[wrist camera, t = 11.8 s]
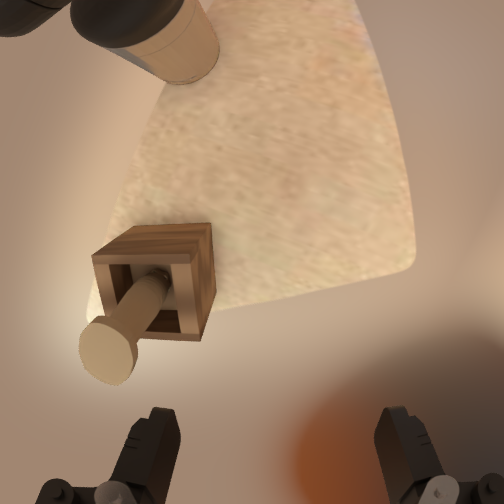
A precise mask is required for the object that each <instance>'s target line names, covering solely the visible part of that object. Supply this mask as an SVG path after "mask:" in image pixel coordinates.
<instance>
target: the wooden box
mask: <svg viewBox="0 0 504 504" xmlns="http://www.w3.org/2000/svg"><path fill="white" fill-rule="evenodd" d="M92 261H93V266H94V271H95V276H96V280H97V284H98V289H99V293H100V297H101V301H102V305H103V309H104V313H105V316H108V317H110V315H111V314H112V313H113V311H114V310H115V308H116V307H117V305H118V304H119V303H120V301H121V300H122V298H123V297H124V295H125V294H126V293H127V291H128V290H129V289H130V288H131V287H132V286H133V285H134V284H135V283H136V282H137V281H138V280H139V279H140V278H141V277H143V276H144V275H146V274H148V273H150V272H151V271H152V270H153V269H155V268H158V269H159V270H160V271H162V272H167V273H168V275H169V276H168V279H169V282H170V283H171V287H170V290H169V292H168V293H167V297H166V299H165V301H164V303H163V305H162V307H161V309H160V311H159V313H158V314H157V316H156V317H155V318H154V320H153V321H152V322H151V324H150V325H149V326H148V328H147V329H146V330H145V332H144V333H143V335H142V336H141V337H140V338H143V339H158V340H159V339H160V340H176V341H201V338H202V335H203V332H204V329H205V326H206V323H207V320H208V316H209V313H210V310H211V307H212V304H213V301H214V298H215V295H216V282H215V271H214V259H213V246H212V233H211V223H193V224H168V225H146V226H133V227H132V228H130V229H129V230H127V231H126V232H124V233H123V234H121V235H120V236H118V237H117V238H116V239H114V240H113V241H111V242H110V243H108V244H107V245H105V246H104V247H103V248H101V249H100V250H98V251H97V252H96V253H94V254H93V255H92Z"/></svg>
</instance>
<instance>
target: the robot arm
mask: <svg viewBox="0 0 504 504" xmlns="http://www.w3.org/2000/svg"><path fill="white" fill-rule="evenodd" d="M71 1H72V2H71ZM70 2H71V7H70V16H71V21H72V24H73V26H74V28H75V29H76V31H77V32H78V33H79V34H80V35H81V36H82V37H84V38H85V39H87V40H88V41H90V42H92V43H95V44H96V45H99V46H101V47H103V48H105V49H107V50H109V51H111V52H113V53H115V54H117V55H119V56H121V57H122V58H124V59H126V60H128V61H130V62H132V63H133V64H135V65H137V66H139V67H141V68H143V69H144V70H146V71H148V72H150V73H151V74H153V75H155V76H157V77H158V78H160V79H162V80H163V81H166V82H168V83H171V84H187V83H192V82H194V81H196V80H199V79H200V78H202V77H203V76H205V75H206V74H207V73H208V72H209V71H210V70H211V69H212V68H213V66H214V65H215V63H216V61H217V59H218V55H219V42H218V39H217V37H216V35H215V33H214V31H213V28H212V26H211V24H210V22H209V20H208V18H207V16H206V14H205V12H204V10H203V8H202V6H201V4H200V3H199V1H198V0H0V37H17V36H22V35H25V34H27V33H29V32H31V31H33V30H34V29H36V28H38V27H39V26H40V25H41V24H43V23H44V22H45V21H47V20H48V19H49V18H51V17H52V16H53V15H54V14H56V13H57V12H58V11H59V10H61V9H62V8H63V7H64V6H66V5H67V4H69V3H70ZM180 442H181V434H180V429H179V426H178V423H177V420H176V416H175V412H174V410H173V409H167V408H159V407H154V408H153V409H152V411H151V414H150V416H149V419H145V418H140V419H139V420H138V421H137V422H136V423H135V424H134V425H133V426H132V427H131V430H130V432H129V434H128V438H127V439H126V441H125V444H124V447H123V449H122V451H121V454H120V456H119V459H118V461H117V463H116V466H115V468H114V471H113V473H112V476H111V478H110V479H109V480H108V481H107V482H104V483H102V484H101V485H99V486H98V487H94V488H92V487H91V488H90V487H88V488H87V487H72V486H71V485H70V484H69V483H68V482H66V481H65V480H62V479H51V480H49V481H47V482H46V483H45V484H44V485H43V487H42V489H41V491H40V493H39V496H38V498H37V501H36V503H35V504H165V501H166V497H167V493H168V489H169V486H170V482H171V478H172V474H173V470H174V466H175V462H176V459H177V455H178V451H179V447H180ZM374 443H375V447H376V450H377V454H378V458H379V461H380V465H381V469H382V473H383V477H384V480H385V484H386V488H387V492H388V496H389V500H390V504H504V478H503V477H502V476H501V475H499V474H497V473H489V474H486V475H485V476H483V477H482V478H481V479H480V480H479V481H476V482H457V481H456V480H455V479H453V478H452V477H450V476H446V475H445V473H444V471H443V469H442V466H441V464H440V461H439V460H438V457H437V454H436V452H435V449H434V447H433V444H431V440H430V437H429V436H428V433H427V431H426V428H425V426H424V424H423V423H422V422H421V421H420V420H419V419H418V418H417V417H416V416H410V417H409V415H408V413H407V410H406V408H405V407H404V406H403V405H400V406H394V407H387V408H384V410H383V412H382V414H381V417H380V420H379V422H378V424H377V427H376V429H375V433H374Z"/></svg>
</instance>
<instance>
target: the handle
mask: <svg viewBox="0 0 504 504" xmlns="http://www.w3.org/2000/svg"><path fill="white" fill-rule="evenodd" d="M168 276H169V275H168V273H167V272H162V271H160V270H159V269H158V268H155V269H153V270H152V271H151V272H150V273H148V274H146V275H144V276H143V277H141V278H140V279H139V280H138V281H137V282H136V283H135V284H134V285H133V286H132V287H131V288H130V289H129V290H128V291H127V293H126V294H125V295H124V297H123V298H122V300H121V301H120V303H119V304H118V305H117V307H116V308H115V310H114V311H113V313H112V314H111V315H110V317H108V316H97V317H96V318H95V319H94V320H93V321H92V322H91V323H90V324H89V325H88V326H87V327H86V328H85V329H84V330H83V332H82V333H81V336H80V341H79V354H80V357H81V360H82V363H83V365H84V368H85V369H86V370H87V371H88V372H89V373H90V374H91V375H92V376H94V377H95V378H96V379H98V380H100V381H102V382H104V383H107V384H110V385H117V386H118V385H119V384H121V383H123V382H124V381H125V380H127V378H129V376H130V374H131V373H132V371H133V369H134V367H135V364H136V361H137V358H138V348H137V342H138V340H139V339H140V337H141V336H142V335H143V333H144V332H145V330H146V329H147V328H148V326H149V325H150V324H151V322H152V321H153V320H154V318H155V317H156V316H157V314H158V313H159V311H160V309H161V307H162V305H163V303H164V301H165V299H166V297H167V293H168V292H169V290H170V287H171V283H170V282H169V279H168Z"/></svg>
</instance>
